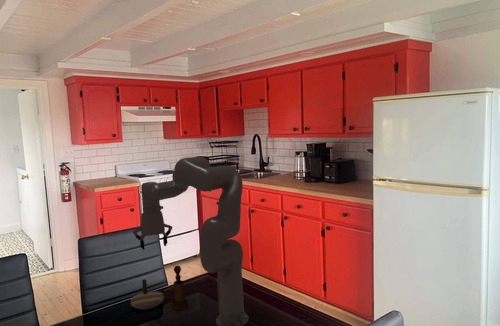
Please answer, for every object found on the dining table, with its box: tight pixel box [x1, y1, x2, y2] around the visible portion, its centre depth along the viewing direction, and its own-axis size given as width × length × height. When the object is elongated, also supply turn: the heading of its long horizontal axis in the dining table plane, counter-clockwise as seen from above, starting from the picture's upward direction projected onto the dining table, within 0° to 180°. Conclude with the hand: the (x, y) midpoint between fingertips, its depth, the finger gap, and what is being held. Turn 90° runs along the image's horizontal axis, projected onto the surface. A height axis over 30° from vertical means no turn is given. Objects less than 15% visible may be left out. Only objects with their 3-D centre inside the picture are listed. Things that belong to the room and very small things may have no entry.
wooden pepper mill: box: [171, 265, 189, 312], centre depth 163 cm, size 7×6×18 cm
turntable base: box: [136, 304, 160, 311], centre depth 168 cm, size 10×10×1 cm
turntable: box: [130, 278, 165, 309], centre depth 167 cm, size 14×14×8 cm
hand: (154, 247), depth 173 cm, fingers open, 9 cm apart
